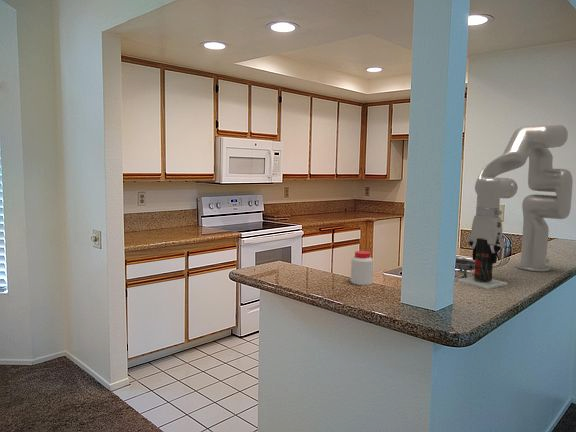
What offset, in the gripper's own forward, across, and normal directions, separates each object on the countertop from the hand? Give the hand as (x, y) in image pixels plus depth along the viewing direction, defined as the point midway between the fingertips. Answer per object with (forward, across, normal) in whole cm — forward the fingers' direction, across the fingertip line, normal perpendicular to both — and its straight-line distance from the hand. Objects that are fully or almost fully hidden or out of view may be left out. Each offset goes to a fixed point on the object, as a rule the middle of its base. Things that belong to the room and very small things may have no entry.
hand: (484, 261), depth 161 cm
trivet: (+8, 0, 0) cm, 8 cm away
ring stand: (+8, +12, -5) cm, 15 cm away
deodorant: (+7, 0, 0) cm, 7 cm away
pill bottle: (+8, +22, +39) cm, 46 cm away
